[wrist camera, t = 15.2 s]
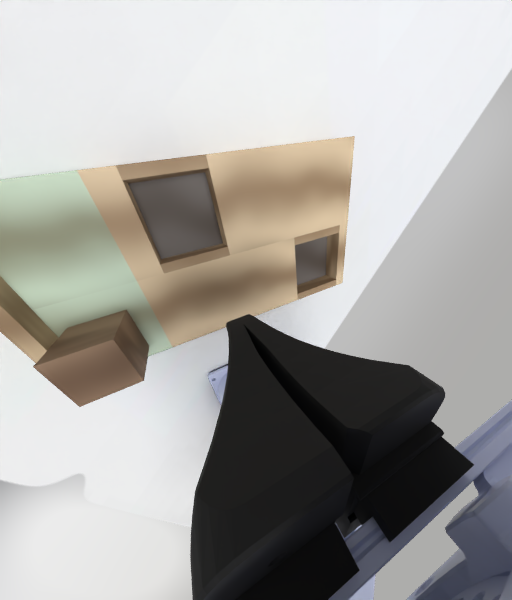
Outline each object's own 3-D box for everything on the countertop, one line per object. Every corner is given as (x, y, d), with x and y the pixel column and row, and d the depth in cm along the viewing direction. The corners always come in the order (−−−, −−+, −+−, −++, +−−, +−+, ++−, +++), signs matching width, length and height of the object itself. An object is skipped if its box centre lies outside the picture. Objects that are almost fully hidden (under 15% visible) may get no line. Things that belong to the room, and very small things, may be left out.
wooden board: (330, 277, 24) (352, 287, 21) (90, 365, 17) (74, 396, 14) (337, 143, 17) (370, 129, 14) (-65, 195, 10) (-159, 191, 7)
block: (149, 346, 16) (143, 380, 13) (99, 364, 15) (79, 406, 12) (126, 309, 14) (113, 339, 11) (67, 327, 13) (32, 366, 10)
